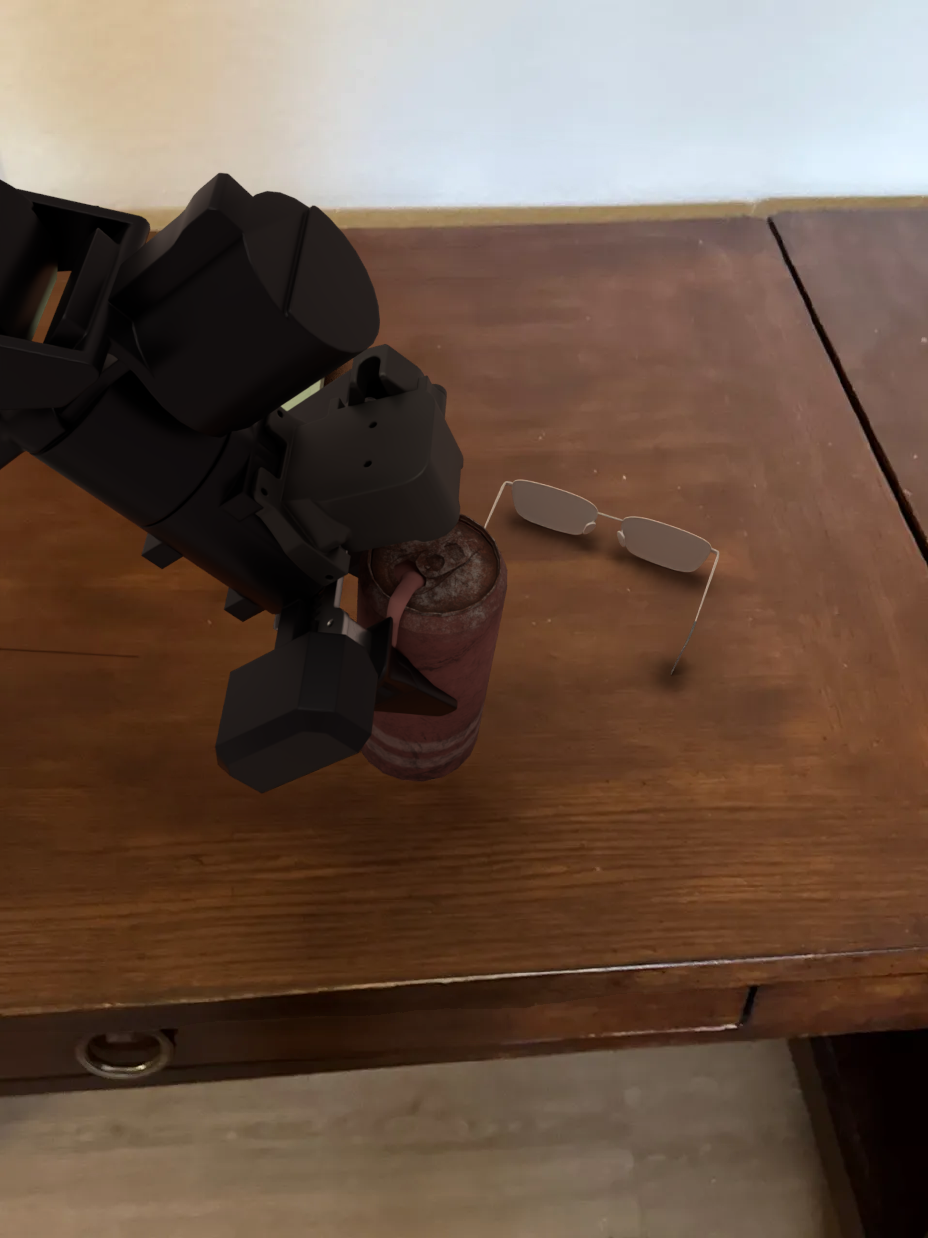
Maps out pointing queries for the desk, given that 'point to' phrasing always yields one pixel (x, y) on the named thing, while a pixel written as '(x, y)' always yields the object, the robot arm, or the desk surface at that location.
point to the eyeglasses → (636, 532)
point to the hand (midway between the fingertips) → (453, 660)
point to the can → (435, 641)
